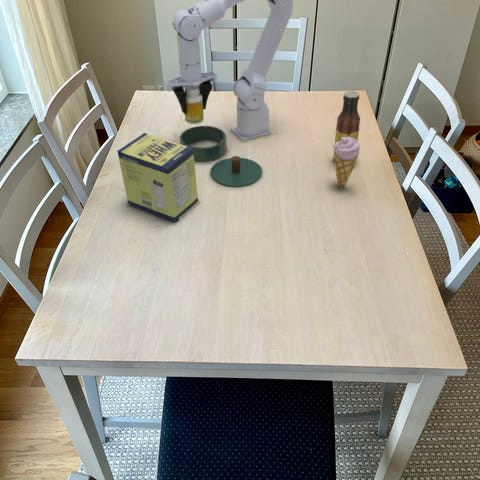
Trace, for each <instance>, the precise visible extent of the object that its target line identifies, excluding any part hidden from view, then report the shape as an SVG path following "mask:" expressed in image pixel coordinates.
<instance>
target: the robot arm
mask: <svg viewBox="0 0 480 480" xmlns="http://www.w3.org/2000/svg"><path fill="white" fill-rule="evenodd" d="M244 1H245V0H201V1H199V2H197V3H195V4H194V5H189V6H187V8H188V9H180V10H179V11H177V12H176V14H175V15H174V16H173V17H174V18H173V22H172V27H173V29H174V30H175V31H176V38H177V50H178V51H177V53H178V63H179V73H180V76H178V77H176V78H174V79H171V80H167V81H165V89H166V91H167V92H173V93H174V95H175V97H176V99H177V101H178V103H179V106H180V109H181V112H182V114H184V115H185V114H187V107H186V94H187V93H186V92H185V87H187V86H192V85H193V86H199V93H200V94H201V95H202V99H203V110H206V109H207V104H208V99H209V97H210V94H211V92H212V89H213V84H212V83H211V82H213V83H214V82H217V81H218V79H217V73H216V72H215V71H210V72H202V63H201V62H202V61H201V49H200V48H201V47H200V38H199V37H200V36H201V33H202V31H204V30H205V29H206V28H208V27H210V26H212V25H213V24H215V23H217V22H218V21H220V20H221V19H223V18H225V15H226V11H227V10H229V9H230V8H232V7H234V6H236V5H238V4H240V3H242V2H244ZM293 1H294V0H267V3H268V6H269V8H270V11H269V12H270V13H269V15H268V17H267V19H266V20H267V21H266V22H265V24H264V27H263V30H262V32H261V35H260V37H259V41H258V43H257V45H256V48H255V50H254V52H253V55H252V56H251V60H250V62H249V65H248V67H247V68H246V69H244V70H243V71H242V72H241V74H240V76H239V77H238V78H237V80H236V81H235V82H234V85H233V87H232V89H233V94H234V95H235V97H236V98H237V99H236V127H232V128H231V131H232V132H234V133H235V134H236V135H237V136H238V137H239V138H240V139H241V140H248V139H252V138H255V137H260V136H263V135H268V134H270V130H269V124H270V110H269V107H268V104H267V103H266V101H265V92H266V89H267V81H266V75H267V73H268V71H269V69H270V66H271V64H272V63H273V59H274V57H275V54H276V52H277V50H278V47H279V44H280V43H281V40H282V38H283V35H284V33H285V31H286V28H287V26H288V24H289V22H290V19H291V18H292V17H291V16H292V14H293V11H294V10H293V5H294V4H293V3H294V2H293Z"/></svg>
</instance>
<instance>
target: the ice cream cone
mask: <svg viewBox="0 0 480 480" xmlns="http://www.w3.org/2000/svg"><path fill="white" fill-rule="evenodd" d="M331 147H332V148H334V147H335V153H334V152H333V156H334V155H335V162H334V166H335V175H336V182H337V186H338V188H341V189H342V188H343V189H344V188H345V186H346V184H347V182H348V180H349V178H350V176H351V174H352V172H353V170H354V167H355V166H356V163H357V160H358V157H359V155H360V149H361V144H360V143H359V141H358V142H357V140H356V139H354V138H351V137H341V141H340V142H337V143H335V142H334V143H333V145H332V146H331Z"/></svg>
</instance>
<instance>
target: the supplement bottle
mask: <svg viewBox="0 0 480 480" xmlns="http://www.w3.org/2000/svg"><path fill="white" fill-rule="evenodd" d="M184 91H185V92H186V93H187V94H186V107H187V114H184V120H185V122H186V123H187V124H189V125H199V124H202V123H203V122H204V119H205V117H204V109H203V99H202V95H201V94H200V93H199V86H193V85H192V86H187V87H184Z"/></svg>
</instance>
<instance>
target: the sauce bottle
mask: <svg viewBox="0 0 480 480" xmlns="http://www.w3.org/2000/svg"><path fill="white" fill-rule="evenodd" d="M342 100H343V103H342V110H341V112H340V113H339V115H338V116H337V119H336V127H335V134H334V144H335V143H337V142H340V141H341V137H351V138H354V139H356V140H357V142H358V143H359V135H360V125H361V117H360V114H359V111H358V105H359V100H360V93H359V92H357V91H355V90H349V91H345V92H344V93H343V97H342ZM334 153H335V147H333V162H334V163H335V155H334Z"/></svg>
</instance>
